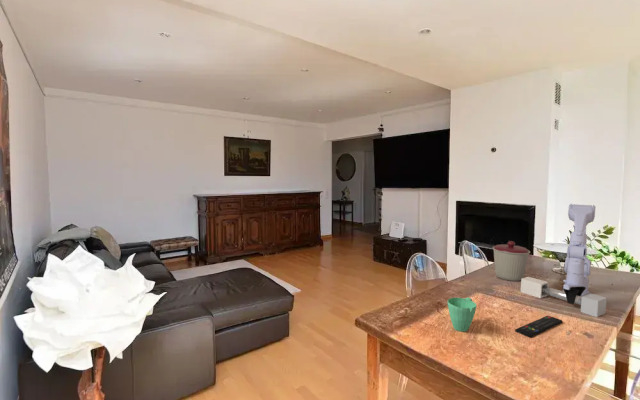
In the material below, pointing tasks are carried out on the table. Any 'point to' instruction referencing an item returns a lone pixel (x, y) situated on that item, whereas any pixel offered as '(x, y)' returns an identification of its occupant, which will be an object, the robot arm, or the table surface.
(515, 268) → the canister
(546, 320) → the remote control
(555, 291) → the tube
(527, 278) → the sleeve
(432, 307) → the table surface
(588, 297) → the socket
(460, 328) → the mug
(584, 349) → the table surface
